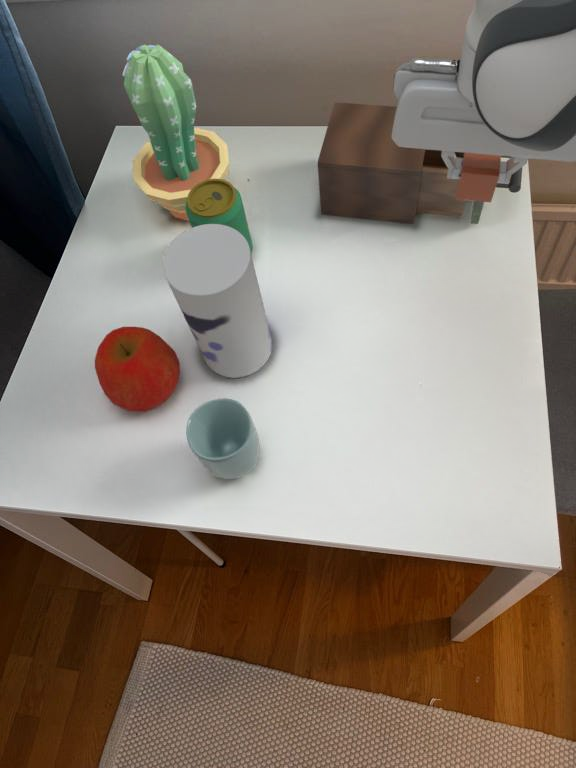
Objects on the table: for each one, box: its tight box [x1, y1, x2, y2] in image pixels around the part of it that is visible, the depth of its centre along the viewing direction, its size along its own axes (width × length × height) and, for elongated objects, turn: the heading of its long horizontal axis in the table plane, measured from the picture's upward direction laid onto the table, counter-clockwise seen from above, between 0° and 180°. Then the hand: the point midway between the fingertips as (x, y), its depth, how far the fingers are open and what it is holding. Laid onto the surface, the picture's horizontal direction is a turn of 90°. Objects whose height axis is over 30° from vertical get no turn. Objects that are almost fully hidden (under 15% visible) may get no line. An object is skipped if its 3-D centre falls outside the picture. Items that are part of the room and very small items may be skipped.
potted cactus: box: [122, 43, 230, 222], centre depth 85 cm, size 15×15×25 cm
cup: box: [185, 397, 261, 480], centre depth 70 cm, size 8×8×10 cm
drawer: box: [416, 149, 523, 225], centre depth 86 cm, size 18×11×9 cm, turn 77°
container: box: [161, 224, 274, 379], centre depth 73 cm, size 10×10×20 cm
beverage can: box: [185, 179, 254, 254], centre depth 85 cm, size 8×8×12 cm
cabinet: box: [316, 101, 425, 225], centre depth 88 cm, size 15×13×11 cm
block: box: [456, 153, 502, 203], centre depth 66 cm, size 4×4×4 cm
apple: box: [94, 326, 181, 413], centre depth 76 cm, size 11×11×11 cm
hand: (477, 177), depth 66 cm, fingers closed on block, 4 cm apart
